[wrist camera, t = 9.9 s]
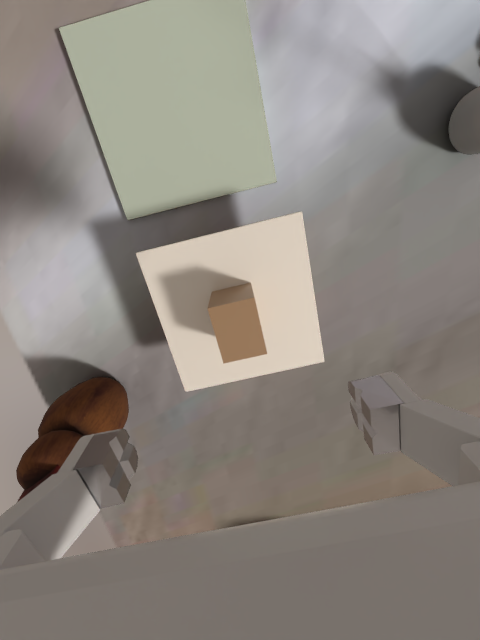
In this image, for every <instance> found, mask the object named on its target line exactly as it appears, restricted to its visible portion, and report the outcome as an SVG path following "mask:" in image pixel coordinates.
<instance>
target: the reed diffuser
mask: <svg viewBox="0 0 480 640" xmlns="http://www.w3.org/2000/svg"><path fill="white" fill-rule="evenodd" d="M449 137H450V140H451V143H452V145H453V146H454V147H455V149H456V150H458V151H459V152H461V153H463V154H468V155H472V154H480V86H479V87H477V88H476V89H474V90H472V91H471V92H469V93H468V94H467V95H465V96H464V97H463V98H462V99H461V100H460V101H459V103H458V104H457V106H456V107H455V109H454V111H453V113H452V116H451V119H450V123H449Z"/></svg>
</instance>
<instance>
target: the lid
mask: <svg viewBox="0 0 480 640" xmlns="http://www.w3.org/2000/svg"><path fill="white" fill-rule="evenodd" d="M136 255H137V258H138V261H139V264H140V267H141V269H142V272H143V275H144V278H145V280H146V283H147V286H148V289H149V292H150V294H151V297H152V300H153V303H154V305H155V308H156V311H157V314H158V317H159V319H160V322H161V325H162V328H163V330H164V333H165V336H166V339H167V341H168V344H169V347H170V350H171V353H172V355H173V358H174V361H175V364H176V366H177V369H178V372H179V375H180V378H181V380H182V383H183V386H184V389H185V391H186V392H187V391H192V390H197V389H201V388H206V387H210V386H215V385H220V384H224V383H229V382H233V381H238V380H243V379H247V378H252V377H256V376H261V375H266V374H270V373H275V372H279V371H284V370H289V369H293V368H298V367H302V366H307V365H312V364H316V363H321V362H324V355H323V349H322V342H321V335H320V329H319V322H318V315H317V309H316V302H315V295H314V289H313V282H312V275H311V269H310V262H309V255H308V249H307V242H306V235H305V229H304V222H303V215H302V212H296V213H292V214H288V215H284V216H280V217H276V218H272V219H268V220H264V221H260V222H256V223H252V224H248V225H244V226H240V227H236V228H232V229H228V230H224V231H220V232H216V233H212V234H208V235H204V236H200V237H196V238H192V239H188V240H184V241H180V242H176V243H172V244H168V245H164V246H160V247H156V248H152V249H148V250H144V251H140V252H137V253H136Z"/></svg>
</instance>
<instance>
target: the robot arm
mask: <svg viewBox="0 0 480 640" xmlns="http://www.w3.org/2000/svg"><path fill="white" fill-rule="evenodd" d="M348 390H349V393H350V394H351V396H352V399H351V401H350V407H351V412H352V415H353V418H354V421H355V423H356V425H357V427H358V429H360V430H361V431H363V432H364V439H365V441H366V443H367V444H368V446H369V448H370V450H371V451H372V453H373V455H377V454H384V453H390V452H396V451H401V452H402V453H403V454H405V455H406V456H408V457H410V458H411V459H413V460H414V461H416V462H417V463H419V464H420V465H422V466H423V467H425V468H426V469H428V470H429V471H431V472H432V473H434V474H435V475H437V476H438V477H440V478H441V479H443V480H444V481H446V482H447V483H449V484H450V485H452V487H447V488H441V489H436V490H430V491H425V492H419V493H414V494H409V495H403V496H398V497H392V498H387V499H381V500H376V501H371V502H365V503H360V504H354V505H349V506H343V507H338V508H332V509H327V510H321V511H316V512H310V513H305V514H299V515H294V516H288V517H283V518H278V519H272V520H267V521H261V522H256V523H250V524H245V525H239V526H234V527H228V528H223V529H218V530H212V531H207V532H201V533H196V534H190V535H185V536H179V537H174V538H169V539H163V540H158V541H152V542H147V543H141V544H136V545H130V546H125V547H120V548H114V549H109V550H103V551H98V552H92V553H87V554H81V555H76V556H71V557H66V558H61V557H62V556H63V554H64V553H65V552H66V551H67V550H68V548H69V547H70V546H71V545H72V543H73V542H74V541H75V540H76V539H77V538H78V536H79V535H80V534H81V533H82V532H83V530H84V529H85V528H86V527H87V525H88V524H89V523H90V522H91V521H92V519H93V518H94V517H95V515H96V514H97V513H98V512H99V511H100V509H101V508H105V507H109V506H114V505H118V504H123V503H124V502H125V500H126V497H127V494H128V491H129V489H130V486H131V484H130V482H129V479H130V478H131V477H132V476H133V475H134V474H135V472H136V469H137V464H138V456H137V451H136V449H135V447H134V446H133V445H132V444H130V443H128V440H129V435H128V433H127V431H126V430H125V429H117V430H112V431H106V432H101V433H97V434H91V435H86V436H83V437H81V438H80V439H79V441H78V442H77V444H76V445H75V447H74V448H73V450H72V451H71V453H70V454H69V456H68V457H67V459H66V460H65V462H64V463H63V465H62V466H61V468H60V469H59V471H58V472H57V474H53V475H51V476H50V477H49V478H48V479H46V480H45V481H44V482H42V483H41V484H40V485H39V486H37V487H36V488H35V489H34V490H32V491H31V492H30V493H29V494H27V495H26V496H25V497H24V498H22V499H21V500H20V501H18V502H17V503H16V504H15V505H14V506H12V507H11V508H10V509H8V510H7V511H6V512H5V513H3V514H2V515H1V516H0V640H480V418H478V417H475V416H473V415H470V414H467V413H464V412H461V411H459V410H456V409H453V408H450V407H448V406H445V405H442V404H439V403H436V402H434V401H431V400H428V399H424V400H422V399H421V398H420V397H419V396H418V395H417V394H416V393H415V392H414V391H413V390H412V389H411V388H410V387H409V386H408V385H407V384H406V383H405V382H404V381H403V380H402V379H401V378H400V377H399V376H398V375H397V374H396V373H395V372H392V371H391V372H387V373H383V374H379V375H377V376H372V377H367V378H363V379H358V380H353V381H349V382H348Z"/></svg>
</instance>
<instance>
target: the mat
mask: <svg viewBox="0 0 480 640" xmlns="http://www.w3.org/2000/svg"><path fill="white" fill-rule="evenodd" d="M59 30H60V33H61V36H62V38H63V41H64V44H65V47H66V50H67V52H68V55H69V58H70V61H71V64H72V66H73V69H74V72H75V75H76V78H77V80H78V83H79V86H80V89H81V92H82V95H83V97H84V100H85V103H86V106H87V109H88V111H89V114H90V117H91V120H92V123H93V125H94V128H95V131H96V134H97V137H98V139H99V142H100V145H101V148H102V151H103V153H104V156H105V159H106V162H107V165H108V167H109V170H110V173H111V176H112V179H113V182H114V184H115V187H116V190H117V193H118V196H119V198H120V201H121V204H122V207H123V210H124V212H125V215H126V218H127V220H131V219H135V218H139V217H143V216H147V215H151V214H155V213H159V212H163V211H166V210H170V209H174V208H178V207H182V206H186V205H190V204H194V203H197V202H201V201H205V200H209V199H213V198H217V197H221V196H225V195H228V194H232V193H236V192H240V191H244V190H248V189H252V188H256V187H260V186H263V185H267V184H271V183H275V182H277V181H276V175H275V169H274V163H273V157H272V152H271V146H270V140H269V134H268V129H267V123H266V117H265V111H264V106H263V100H262V94H261V88H260V83H259V77H258V71H257V65H256V59H255V54H254V48H253V42H252V36H251V31H250V25H249V19H248V13H247V8H246V2H245V0H149V1H146V2H143V3H139V4H136V5H133V6H130V7H126V8H123V9H120V10H116V11H113V12H110V13H107V14H103V15H100V16H97V17H93V18H90V19H87V20H84V21H80V22H77V23H74V24H70V25H67V26H64V27H61V28H59Z"/></svg>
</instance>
